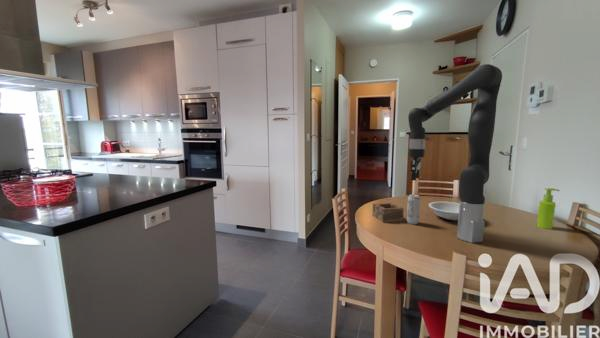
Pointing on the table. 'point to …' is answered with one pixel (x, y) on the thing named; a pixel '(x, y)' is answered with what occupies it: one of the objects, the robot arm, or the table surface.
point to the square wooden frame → (387, 212)
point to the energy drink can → (413, 209)
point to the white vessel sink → (446, 209)
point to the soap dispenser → (546, 210)
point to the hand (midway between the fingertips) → (415, 179)
